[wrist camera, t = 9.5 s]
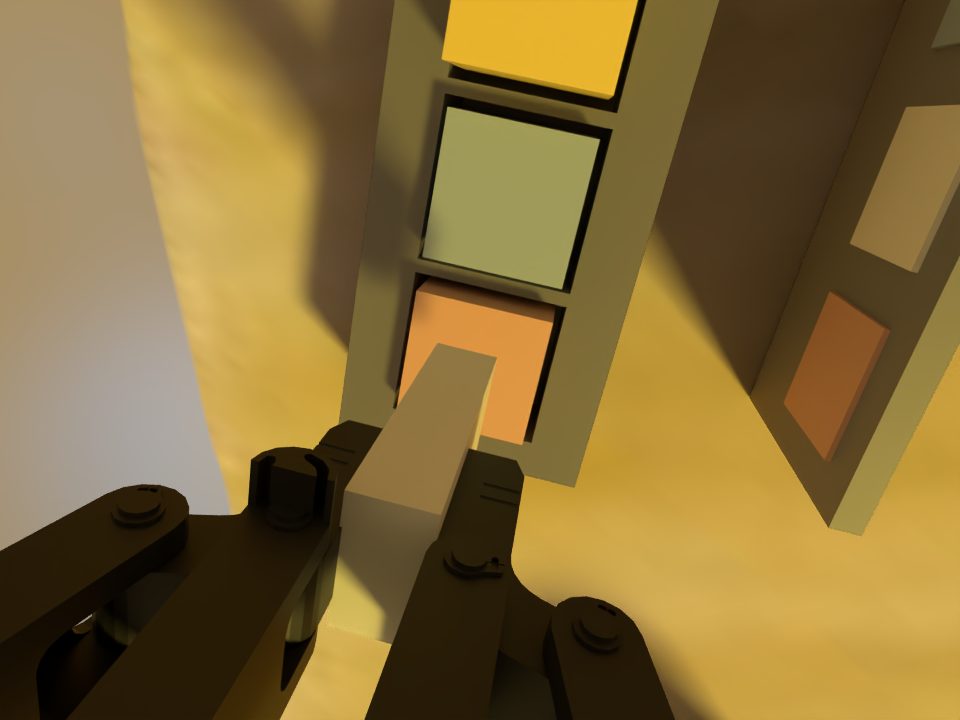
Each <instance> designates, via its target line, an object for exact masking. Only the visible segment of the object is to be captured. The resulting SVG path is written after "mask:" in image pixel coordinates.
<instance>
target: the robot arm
mask: <svg viewBox="0 0 960 720" xmlns="http://www.w3.org/2000/svg"><path fill="white" fill-rule="evenodd" d="M496 361H497V357H494V356H490V355H485V354H481V353H477V352H473V351H469V350H465V349H461V348H457V347H452V346H448V345H444V344H440V343H437V344H436V346H435V348H434V349H433V351H432V352H431V354H430V356H429V357H428V359H427V360H426V362H425V363H424V365H423V367H422V368H421V370H420V371H419V373H418V374H417V376H416V378H415V379H414V381H413V382H412V384H411V386H410V387H409V389H408V390H407V392H406V393H405V395H404V397H403V398H402V400H401V401H400V403H399V404H398V406H397V408H396V409H395V411H394V412H393V414H392V416H391V417H390V419H389V420H388V422H387V423H386V425H385V427H384V428H379V427H375V426H371V425H367V424H363V423H360V422H356V421H352V420H347V421H345V422H343V423H341V424H339V425H337V426H335V427H333V428H331V429H329V431H328V432H327V433H326V434H325V436H324V437H323V438H322V439H321V441H320V442H319V445H317V446H316V447H315V448H314V449H313V450H311V449H307V448H300V447H281V448H274V449H271V450H268V451H264V452H262V453H260V454H259V455H257V456H256V457H254V458H253V459H251V468H250V482H249V497H248V505H247V507H246V508H245V509H244V510H243V511H242V512H241V514H237V515H219V516H218V515H192V514H191V515H190V514H189V505H188V503H187V500H186V498H185V497H184V496H183V495H182V494H180V493H179V492H178V491H176V490H175V489H171V488H168V487H165V486H161V485H147V484H141V485H135V486H128V487H123V488H120V489H118V490H115V491H113V492H110V493H107V494H105V495H103V496H101V497H100V498H98V499H96V500H94V501H92V502H90V503H89V504H87V505H85V506H83V507H81V508H79V509H77V510H75V511H74V512H72V513H70V514H68V515H66V516H64V517H62V518H61V519H59V520H57V521H55V522H53V523H51V524H49V525H48V526H46V527H44V528H42V529H40V530H38V531H37V532H35V533H33V534H31V535H29V536H27V537H26V538H24V539H22V540H20V541H18V542H16V543H14V544H12V545H10V546H9V547H7V548H5V549H3V550H1V551H0V720H280V718H281V716H282V714H283V712H284V710H285V708H286V706H287V704H288V702H289V700H290V698H291V696H292V694H293V692H294V690H295V688H296V686H297V684H298V682H299V680H300V678H301V676H302V674H303V672H304V670H305V668H306V666H307V664H308V662H309V660H310V658H311V656H312V654H313V651H314V647H315V643H316V637H317V630H318V624H319V622H320V620H321V618H322V617H323V615H324V613H325V611H326V609H327V607H328V605H329V607H328V614H327V622H326V626H328V627H332V628H335V629H339V630H343V631H346V632H350V633H353V634H357V635H361V636H364V637H368V638H372V639H375V640H379V641H382V642H386V643H390V644H392V646H391V649H390V651H389V654H388V657H387V660H386V662H385V665H384V668H383V671H382V673H381V676H380V679H379V681H378V684H377V687H376V690H375V692H374V695H373V698H372V701H371V703H370V706H369V709H368V711H367V714H366V717H365V720H675V718H674V716H673V713H672V711H671V708H670V706H669V703H668V700H667V698H666V695H665V693H664V690H663V688H662V685H661V683H660V680H659V677H658V675H657V672H656V670H655V667H654V665H653V662H652V659H651V657H650V654H649V652H648V649H647V647H646V644H645V641H644V639H643V636H642V634H641V633H640V631H639V629H638V628H637V626H636V625H635V623H634V621H633V620H632V619H630V618H629V617H628V616H627V615H626V614H625V613H624V612H623V611H622V610H620V609H619V608H617V607H615V606H613V605H611V604H609V603H607V602H605V601H604V600H599V599H595V598H591V597H587V596H585V597H571V598H569V599H567V600H565V601H562V602H560V603H559V604H558V605H557V607H555V606H553V605H551V604H549V603H548V602H546V601H544V600H542V599H540V598H539V597H537V596H536V595H534V594H533V593H531V592H530V591H529V590H528V589H527V588H526V587H524V586H523V585H522V584H521V583H520V581H519V580H518V578H517V577H516V575H515V574H514V571H513V568H512V565H511V553H512V547H513V541H514V535H515V529H516V524H517V518H518V512H519V505H520V500H521V493H522V488H523V482H524V475H523V473H522V470H521V468H520V466H519V464H518V462H517V460H513V459H509V458H505V457H501V456H497V455H493V454H489V453H485V452H481V451H477V446H478V441H479V437H480V433H481V428H482V424H483V419H484V415H485V410H486V406H487V401H488V397H489V392H490V388H491V384H492V379H493V375H494V370H495V366H496ZM91 614H92V617H90V618H89V619H87V620H86V621H84V622H83V623H81V624H79V625H77V624H78V623H80V622H81V621H82V620H84V619H85V618H87V617H88V616H90V615H91ZM75 625H77V626H75ZM74 626H75V627H74Z"/></svg>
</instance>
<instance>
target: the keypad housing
mask: <svg viewBox="0 0 960 720" xmlns="http://www.w3.org/2000/svg"><path fill="white" fill-rule="evenodd" d="M718 3H719V0H638V2H637V6H636V10H635V14H634V18H633V22H632V26H631V30H630V33H629V37H628V41H627V45H626V49H625V53H624V57H623V61H622V65H621V69H620V72H619V76H618V80H617V84H616V88H615V92H614V96H612V97H611V98H610V99H609V100H604V99H600V98H595V97H590V96H586V95H581V94H576V93H572V92H567V91H562V90H557V89H553V88H548V87H543V86H539V85H534V84H529V83H524V82H520V81H515V80H510V79H506V78H501V77H496V76H491V75H487V74H482V73H477V72H473V71H468V70H465V69H463V68H460V67H458V66H456V65H454V64H451V63H449V62H447V61H444V60H442V53H443V47H444V41H445V35H446V28H447V22H448V16H449V10H450V4H451V0H395V2H394V9H393V17H392V24H391V32H390V39H389V47H388V54H387V62H386V70H385V77H384V85H383V92H382V100H381V107H380V115H379V123H378V130H377V138H376V145H375V153H374V160H373V168H372V175H371V183H370V191H369V198H368V206H367V213H366V221H365V228H364V236H363V244H362V251H361V259H360V266H359V274H358V281H357V289H356V296H355V304H354V312H353V319H352V327H351V334H350V342H349V349H348V357H347V365H346V372H345V380H344V387H343V395H342V402H341V410H340V417H339V424H341V423H343V422H345V421H347V420H352V421H356V422H360V423H363V424H367V425H371V426H375V427H379V428H384V427H385V425H386V423H387V422H388V420H389V419H390V417H391V416H392V414H393V412H394V411H395V409H396V408H397V404H398V398H399V392H400V386H401V380H402V374H403V368H404V362H405V356H406V351H407V345H408V339H409V333H410V327H411V321H412V315H413V309H414V303H415V297H416V291H417V290H418V289H419V288H420V287H421V286H422V285H423V284H424V283H425V281H426V280H427V279H428V278H429V277H430V276H435V277H440V278H444V279H448V280H453V281H457V282H461V283H465V284H470V285H474V286H478V287H482V288H487V289H491V290H495V291H499V292H504V293H508V294H512V295H517V296H521V297H525V298H529V299H534V300H538V301H542V302H546V303H551V304H555V305H556V307H555V314H554V321H553V326H552V330H551V334H550V338H549V342H548V345H547V349H546V353H545V357H544V361H543V365H542V369H541V373H540V377H539V381H538V385H537V389H536V393H535V397H534V400H533V404H532V408H531V412H530V416H529V420H528V424H527V428H526V432H525V436H524V440H523V444H522V445H519V444H515V443H511V442H507V441H503V440H499V439H495V438H491V437H487V436H483V435H480V437H479V441H478V446H477V451H481V452H485V453H489V454H493V455H497V456H501V457H505V458H509V459H513V460H517V462H518V464H519V466H520V468H521V470H522V473H523V475H526V476H530V477H534V478H538V479H542V480H546V481H550V482H554V483H558V484H562V485H566V486H569V487H573V488H574V487H575V484H576V481H577V477H578V474H579V471H580V467H581V464H582V461H583V457H584V454H585V450H586V447H587V444H588V440H589V437H590V434H591V430H592V427H593V424H594V420H595V417H596V413H597V410H598V407H599V403H600V400H601V397H602V393H603V390H604V387H605V383H606V380H607V376H608V373H609V370H610V366H611V363H612V360H613V356H614V353H615V350H616V346H617V343H618V339H619V336H620V333H621V329H622V326H623V323H624V319H625V316H626V313H627V309H628V306H629V302H630V299H631V296H632V292H633V289H634V286H635V282H636V279H637V276H638V272H639V269H640V266H641V262H642V259H643V255H644V252H645V249H646V245H647V242H648V239H649V235H650V232H651V229H652V225H653V222H654V218H655V215H656V212H657V208H658V205H659V202H660V198H661V195H662V192H663V188H664V185H665V181H666V178H667V175H668V171H669V168H670V165H671V161H672V158H673V155H674V151H675V148H676V144H677V141H678V138H679V134H680V131H681V128H682V124H683V121H684V118H685V114H686V111H687V107H688V104H689V101H690V97H691V94H692V91H693V87H694V84H695V81H696V77H697V74H698V70H699V67H700V64H701V60H702V57H703V54H704V50H705V47H706V44H707V40H708V37H709V33H710V30H711V27H712V23H713V20H714V17H715V13H716V10H717V7H718ZM447 107H455V108H465V109H472V110H476V111H481V112H486V113H490V114H495V115H500V116H504V117H509V118H513V119H518V120H523V121H527V122H532V123H537V124H541V125H546V126H550V127H555V128H560V129H564V130H569V131H574V132H578V133H583V134H587V135H592V136H597V137H598V138H599V139H600V141H599V145H598V149H597V153H596V157H595V161H594V165H593V169H592V173H591V177H590V181H589V184H588V188H587V192H586V196H585V200H584V204H583V208H582V212H581V216H580V220H579V224H578V228H577V232H576V235H575V239H574V243H573V247H572V251H571V255H570V259H569V263H568V267H567V271H566V275H565V279H564V283H563V287H562V289H558V288H554V287H550V286H545V285H541V284H537V283H533V282H528V281H524V280H520V279H515V278H511V277H507V276H502V275H498V274H494V273H490V272H485V271H481V270H477V269H472V268H468V267H464V266H459V265H455V264H451V263H447V262H442V261H438V260H434V259H429V258H425V257H422V256H423V250H424V244H425V238H426V232H427V226H428V220H429V214H430V208H431V202H432V196H433V190H434V184H435V178H436V172H437V167H438V161H439V155H440V149H441V143H442V137H443V131H444V125H445V119H446V113H447Z"/></svg>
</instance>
